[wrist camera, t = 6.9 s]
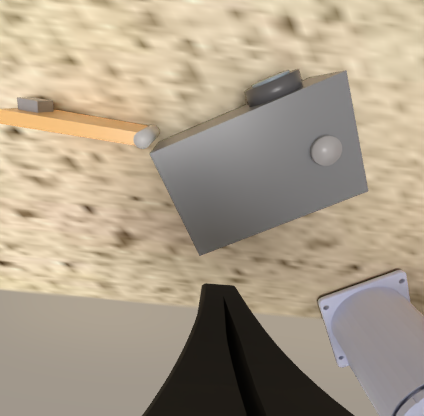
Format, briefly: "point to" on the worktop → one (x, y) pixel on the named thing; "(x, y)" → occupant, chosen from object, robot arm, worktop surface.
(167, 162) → the camera body
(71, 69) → the worktop surface
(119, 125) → the side door
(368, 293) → the robot arm
